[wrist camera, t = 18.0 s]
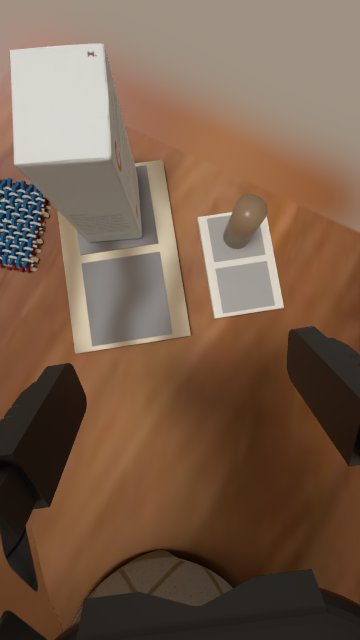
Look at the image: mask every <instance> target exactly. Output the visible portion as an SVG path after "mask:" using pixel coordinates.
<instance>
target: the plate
mask: <svg viewBox="0 0 360 640" xmlns="http://www.w3.org/2000/svg"><path fill="white" fill-rule="evenodd" d="M197 224H198V230H199V235H200V241H201V247H202V253H203V259H204V265H205V271H206V277H207V283H208V289H209V295H210V301H211V307H212V313H213V319H217V318H223V317H230V316H236V315H242V314H249V313H255V312H262V311H268V310H274V309H280V308H284V306H283V301H282V295H281V290H280V285H279V279H278V274H277V269H276V263H275V258H274V253H273V248H272V242H271V237H270V232H269V226H268V221H267V205H266V203H265V201H264V200H263V199H262V198H261V197H259V196H257V195H254V194H248V195H244V196H242V197H241V198H240V199H239V200H238V201H237V203H236V205H235V207H234V210H233V212H230V213H224V214H217V215H210V216H203V217H198V219H197Z"/></svg>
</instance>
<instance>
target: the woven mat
mask: <svg viewBox="0 0 360 640" xmlns="http://www.w3.org/2000/svg"><path fill="white" fill-rule="evenodd" d="M47 200H48V199H47V198H46V197H45V196H44V195H43V194H42V193H41V192H40V191H39V190H38V189H37V188H36V187H35V186H34V185H32V184H30V185H27V184H26V182H25V181H21V183H20V182H17V181H16V183H13V186H12V179H11V178H8V180H6V179H3V180H0V267H2V268H3V266H6V267H7V269H8V270H11V269H13V270H16V268H18V269H19V271H20V272H24V270H25V272H29V271H37V268H35V267H32V266H33V265H34V264H33V263H34V262H37V263H38V260H39V258H38V257H36V256H35V253H41V251H42V250H41V249H37V245H36V244H38V245H40V244H42V243H43V242H42V239H38V235H39V236H42V235H43V232H44V231H41V229H43V228H40V227H41V226H44V227H45V222H42V221H43V220H44V217H46V218H48V217H49V213H47V212H46V211H45V209H51V208H52V207H50V206H46V201H47ZM1 202H3V203H1ZM12 212H13V213H12ZM39 217H40V218H39ZM29 224H30V225H29ZM1 228H2V229H1ZM19 241H20V242H19ZM35 247H36V248H35ZM17 250H18V251H17ZM16 251H17V252H16ZM30 253H31V255H29V254H30ZM7 258H8V259H7Z"/></svg>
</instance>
